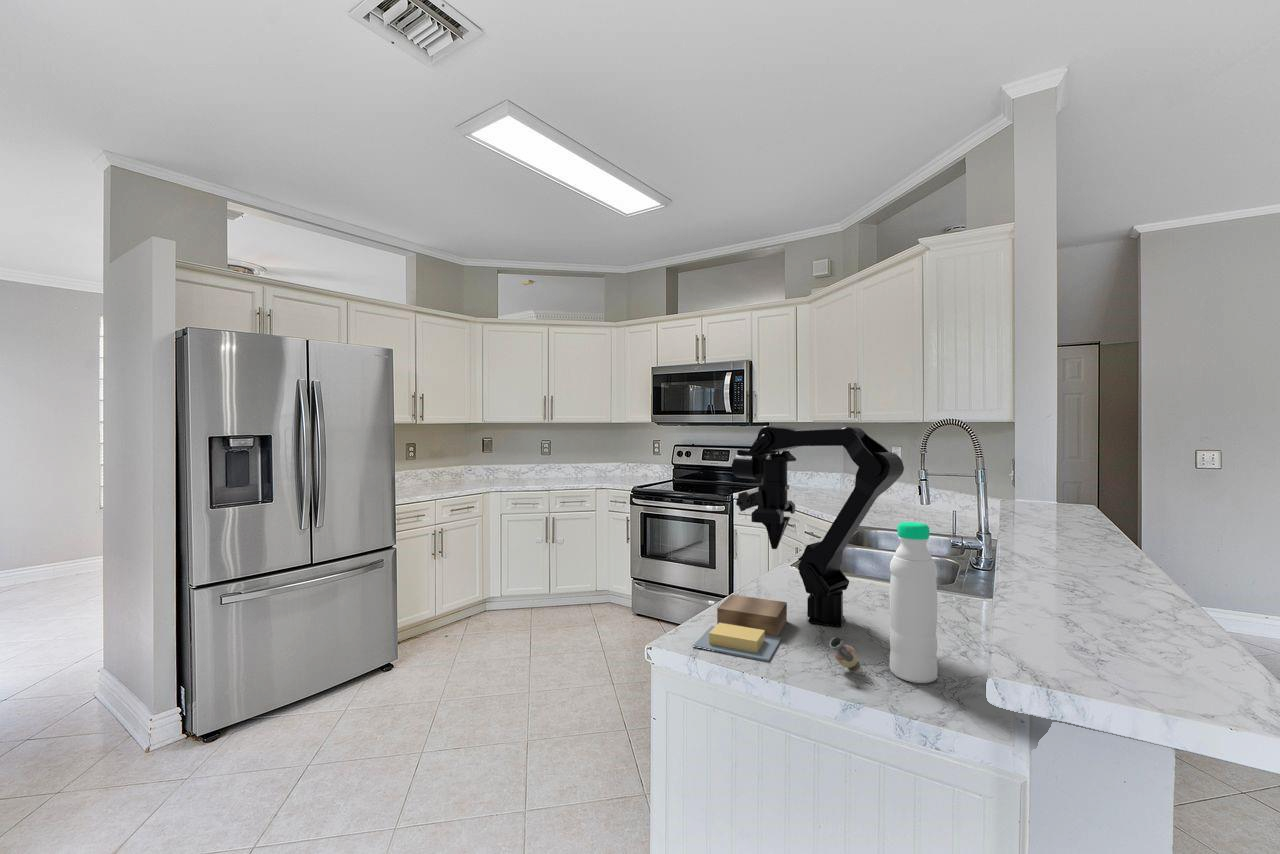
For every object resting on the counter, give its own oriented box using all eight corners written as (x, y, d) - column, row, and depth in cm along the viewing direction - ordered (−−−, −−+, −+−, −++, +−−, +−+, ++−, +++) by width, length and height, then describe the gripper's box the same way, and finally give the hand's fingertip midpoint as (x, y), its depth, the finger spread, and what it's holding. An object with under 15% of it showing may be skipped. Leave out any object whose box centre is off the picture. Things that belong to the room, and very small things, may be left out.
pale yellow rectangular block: (756, 641, 97) (756, 652, 97) (764, 630, 103) (764, 640, 103) (709, 632, 101) (709, 643, 101) (719, 622, 107) (719, 632, 107)
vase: (840, 682, 87) (838, 643, 87) (822, 670, 92) (820, 633, 93) (870, 678, 88) (868, 640, 89) (851, 666, 93) (849, 631, 94)
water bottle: (881, 666, 93) (881, 520, 93) (920, 664, 93) (920, 519, 93) (904, 686, 86) (904, 527, 86) (947, 684, 86) (947, 527, 86)
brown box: (786, 621, 114) (786, 602, 114) (776, 637, 105) (776, 617, 105) (731, 612, 119) (731, 594, 119) (717, 627, 110) (717, 608, 110)
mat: (781, 639, 104) (781, 637, 104) (768, 661, 94) (768, 659, 94) (711, 627, 110) (711, 625, 110) (692, 647, 100) (692, 645, 100)
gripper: (750, 476, 136) (750, 538, 136) (728, 482, 119) (728, 553, 119) (795, 477, 131) (795, 542, 131) (779, 485, 114) (779, 559, 114)
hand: (774, 548), depth 124 cm, fingers closed
